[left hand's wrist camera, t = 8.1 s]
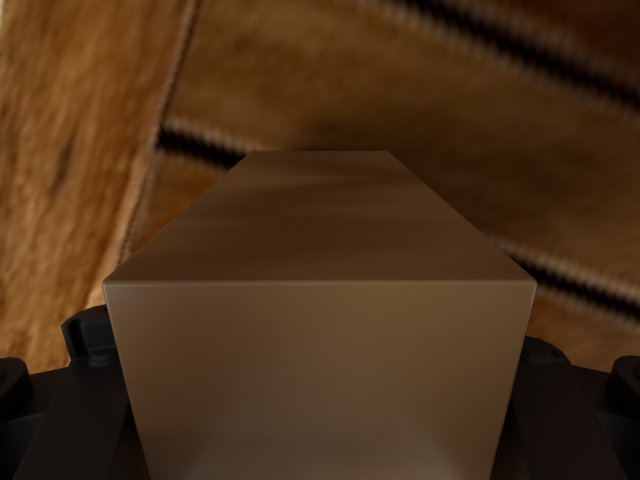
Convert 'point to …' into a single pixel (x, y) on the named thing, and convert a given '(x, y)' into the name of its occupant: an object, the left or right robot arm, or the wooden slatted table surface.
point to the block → (319, 328)
